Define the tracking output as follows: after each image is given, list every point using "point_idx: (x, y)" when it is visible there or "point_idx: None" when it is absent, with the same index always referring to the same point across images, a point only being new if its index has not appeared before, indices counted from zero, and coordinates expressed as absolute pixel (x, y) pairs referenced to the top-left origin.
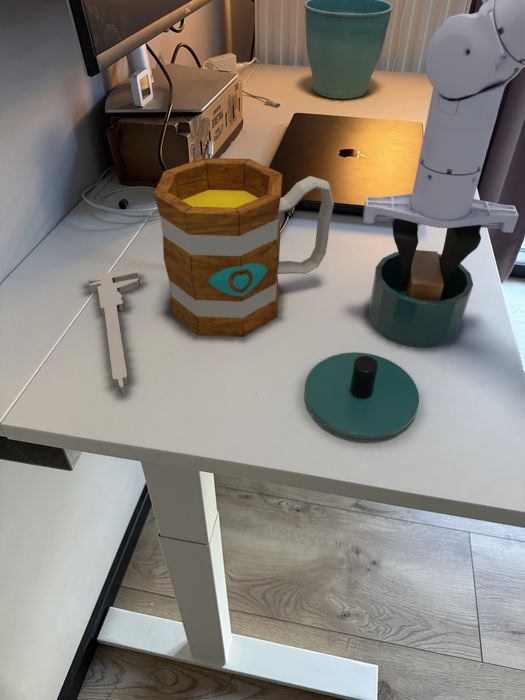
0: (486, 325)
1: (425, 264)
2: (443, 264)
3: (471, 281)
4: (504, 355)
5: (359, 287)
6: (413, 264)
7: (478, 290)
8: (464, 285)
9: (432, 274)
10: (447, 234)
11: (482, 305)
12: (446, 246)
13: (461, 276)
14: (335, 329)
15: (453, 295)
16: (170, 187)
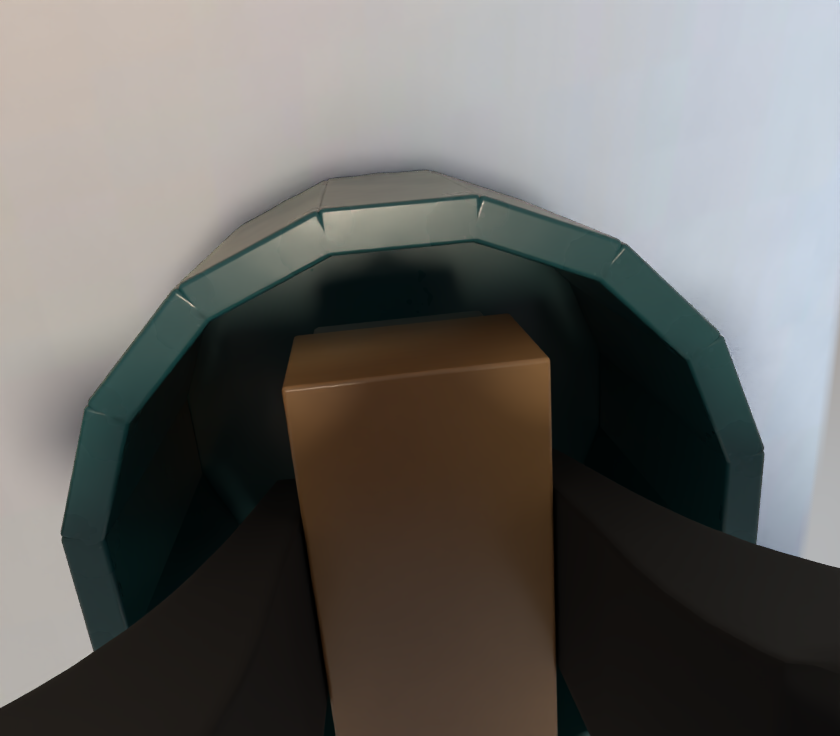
0: (742, 375)
1: (439, 575)
2: (579, 642)
3: (750, 538)
4: (768, 546)
5: (61, 195)
6: (342, 600)
7: (772, 64)
8: (696, 493)
9: (488, 680)
10: (679, 675)
11: (760, 214)
12: (635, 686)
13: (695, 421)
14: (35, 576)
15: (617, 342)
16: None
